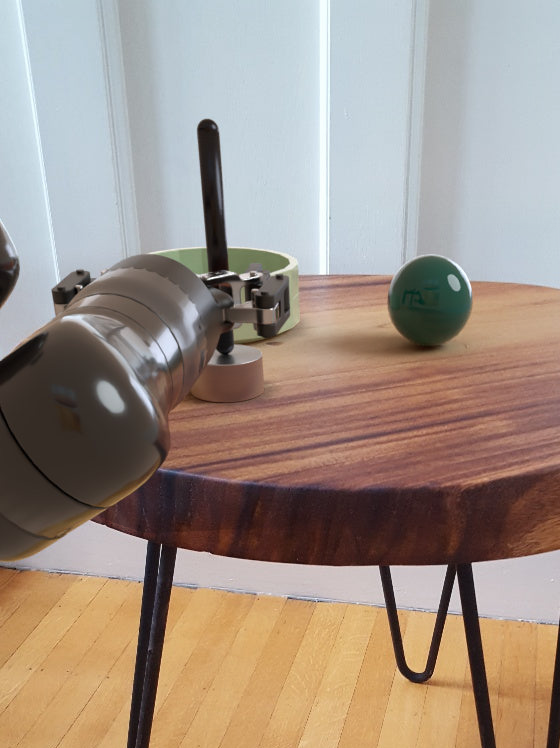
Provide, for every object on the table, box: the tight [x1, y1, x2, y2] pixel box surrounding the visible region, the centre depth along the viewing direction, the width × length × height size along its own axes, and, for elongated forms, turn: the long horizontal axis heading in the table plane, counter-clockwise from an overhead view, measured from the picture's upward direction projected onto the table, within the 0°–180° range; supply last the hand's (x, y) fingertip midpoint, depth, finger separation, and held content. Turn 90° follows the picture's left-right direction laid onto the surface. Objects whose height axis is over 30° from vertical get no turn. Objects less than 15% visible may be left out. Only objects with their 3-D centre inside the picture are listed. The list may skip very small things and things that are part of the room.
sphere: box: [387, 253, 474, 347], centre depth 89 cm, size 8×8×8 cm
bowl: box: [146, 246, 301, 345], centre depth 94 cm, size 17×17×6 cm
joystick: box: [190, 118, 265, 403], centre depth 74 cm, size 6×6×20 cm
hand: (196, 277), depth 67 cm, fingers open, 8 cm apart
